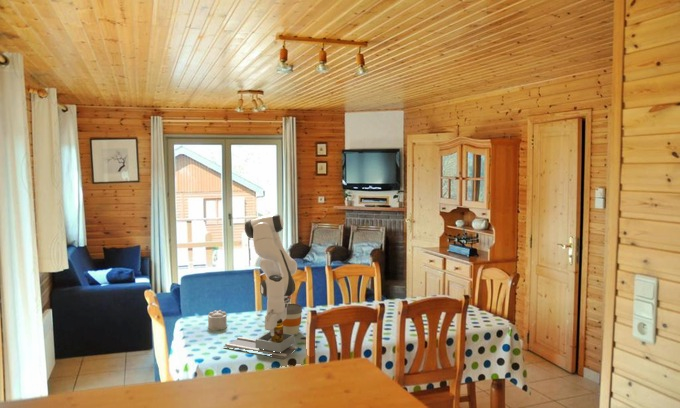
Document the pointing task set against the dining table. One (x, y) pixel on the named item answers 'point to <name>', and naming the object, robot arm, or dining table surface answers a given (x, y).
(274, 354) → the rail track
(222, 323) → the lumpy-topped squat cylinder
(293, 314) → the reusable coffee cup
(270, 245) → the robot arm
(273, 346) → the tray
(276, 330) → the condiment
